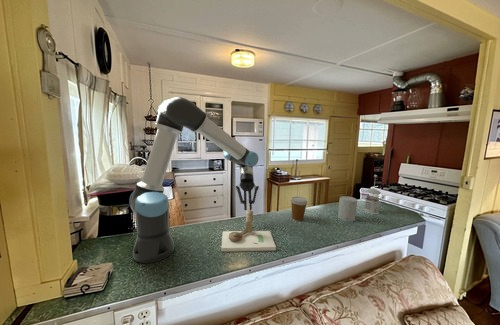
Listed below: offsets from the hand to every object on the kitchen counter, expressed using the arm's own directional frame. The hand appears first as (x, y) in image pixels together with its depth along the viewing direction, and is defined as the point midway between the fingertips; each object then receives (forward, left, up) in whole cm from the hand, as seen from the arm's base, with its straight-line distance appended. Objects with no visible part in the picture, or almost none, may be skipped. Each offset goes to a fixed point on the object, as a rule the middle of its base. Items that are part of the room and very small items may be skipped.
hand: (248, 216), depth 101 cm
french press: (+83, +22, -8) cm, 87 cm away
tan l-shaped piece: (-3, -8, -5) cm, 10 cm away
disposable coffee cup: (+30, +13, -8) cm, 34 cm away
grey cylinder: (+60, +13, -8) cm, 62 cm away
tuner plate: (-1, -11, -8) cm, 13 cm away
